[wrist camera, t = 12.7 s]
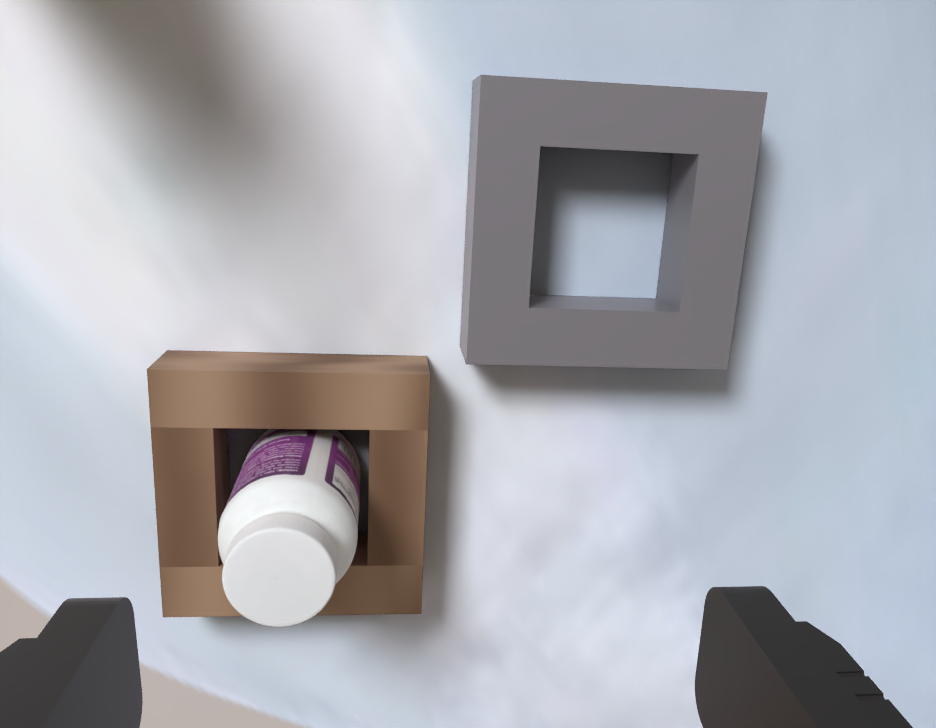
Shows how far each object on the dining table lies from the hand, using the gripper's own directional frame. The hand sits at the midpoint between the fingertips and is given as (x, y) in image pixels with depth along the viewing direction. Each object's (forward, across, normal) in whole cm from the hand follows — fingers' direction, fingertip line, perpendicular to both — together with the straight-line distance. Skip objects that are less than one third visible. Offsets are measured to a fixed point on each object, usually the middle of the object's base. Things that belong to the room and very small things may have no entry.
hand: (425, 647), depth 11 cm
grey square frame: (+25, -8, -3) cm, 27 cm away
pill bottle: (+25, +5, +8) cm, 27 cm away
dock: (+25, +5, +8) cm, 27 cm away
